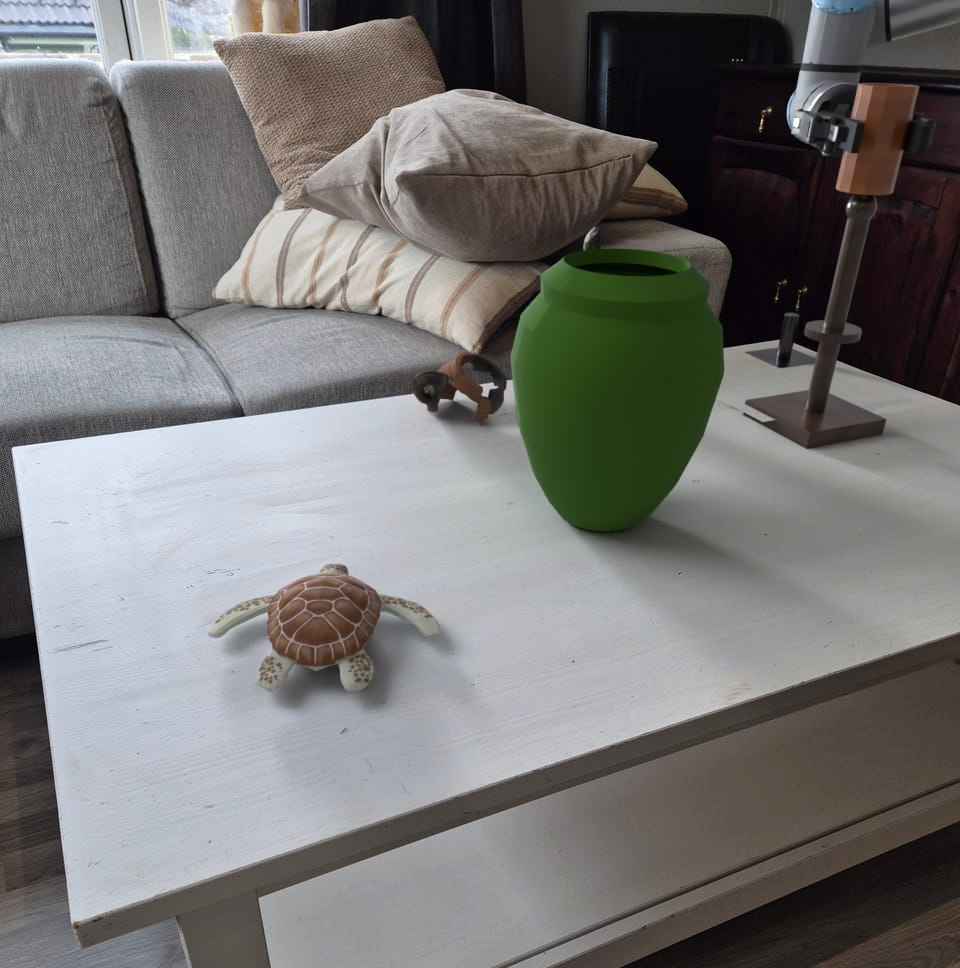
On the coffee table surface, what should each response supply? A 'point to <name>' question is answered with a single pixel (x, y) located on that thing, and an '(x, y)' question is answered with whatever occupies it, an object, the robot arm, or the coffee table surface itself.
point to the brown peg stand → (828, 356)
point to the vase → (615, 381)
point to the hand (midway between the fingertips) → (890, 139)
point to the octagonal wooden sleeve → (878, 138)
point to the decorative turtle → (323, 625)
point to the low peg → (785, 347)
